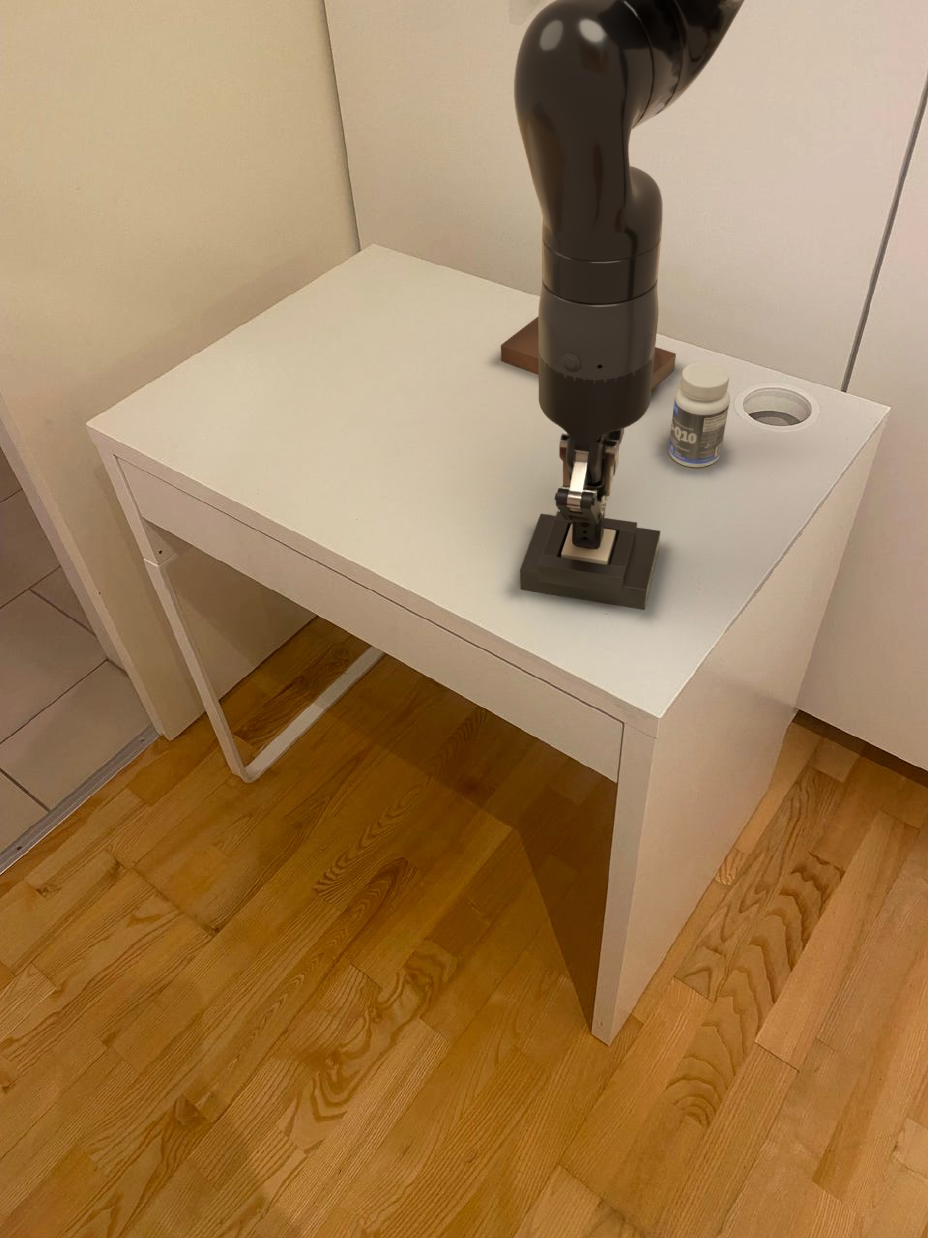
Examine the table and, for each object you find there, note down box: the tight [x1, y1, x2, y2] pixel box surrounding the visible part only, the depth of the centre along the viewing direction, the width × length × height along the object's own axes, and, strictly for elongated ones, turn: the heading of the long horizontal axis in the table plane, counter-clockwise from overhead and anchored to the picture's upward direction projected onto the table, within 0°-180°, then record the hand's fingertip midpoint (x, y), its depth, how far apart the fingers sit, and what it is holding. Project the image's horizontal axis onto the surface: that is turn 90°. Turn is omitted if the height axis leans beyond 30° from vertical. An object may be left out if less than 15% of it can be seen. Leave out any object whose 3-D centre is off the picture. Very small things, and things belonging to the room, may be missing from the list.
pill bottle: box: [668, 361, 731, 468], centre depth 85 cm, size 5×5×8 cm
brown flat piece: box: [500, 316, 677, 392], centre depth 97 cm, size 17×9×4 cm, turn 52°
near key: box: [561, 524, 616, 565], centre depth 75 cm, size 4×4×2 cm
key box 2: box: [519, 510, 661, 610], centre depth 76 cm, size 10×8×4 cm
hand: (587, 541), depth 74 cm, fingers closed
